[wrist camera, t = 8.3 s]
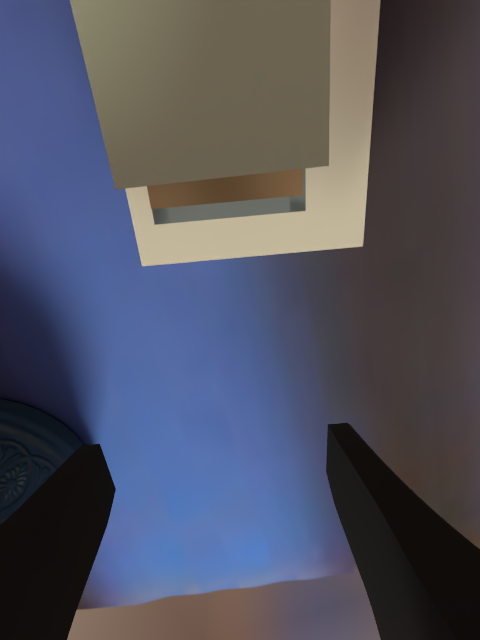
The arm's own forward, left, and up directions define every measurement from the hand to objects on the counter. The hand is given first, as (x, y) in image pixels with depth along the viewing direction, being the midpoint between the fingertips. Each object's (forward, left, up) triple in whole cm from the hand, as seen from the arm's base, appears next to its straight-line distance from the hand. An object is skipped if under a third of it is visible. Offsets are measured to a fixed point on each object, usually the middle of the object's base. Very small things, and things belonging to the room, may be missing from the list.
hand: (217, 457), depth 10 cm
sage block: (-1, -10, -5) cm, 11 cm away
